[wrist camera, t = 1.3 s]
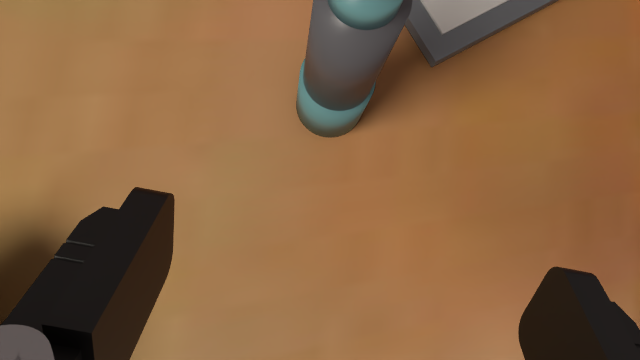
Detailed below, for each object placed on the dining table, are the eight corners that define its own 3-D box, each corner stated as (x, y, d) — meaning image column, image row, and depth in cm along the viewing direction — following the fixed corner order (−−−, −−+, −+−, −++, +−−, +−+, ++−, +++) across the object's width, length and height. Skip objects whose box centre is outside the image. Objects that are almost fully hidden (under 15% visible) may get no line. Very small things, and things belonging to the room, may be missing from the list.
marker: (284, 92, 35) (291, -50, 20) (340, 63, 36) (389, -94, 21) (317, 149, 34) (350, 47, 19) (373, 118, 35) (448, -2, 20)
